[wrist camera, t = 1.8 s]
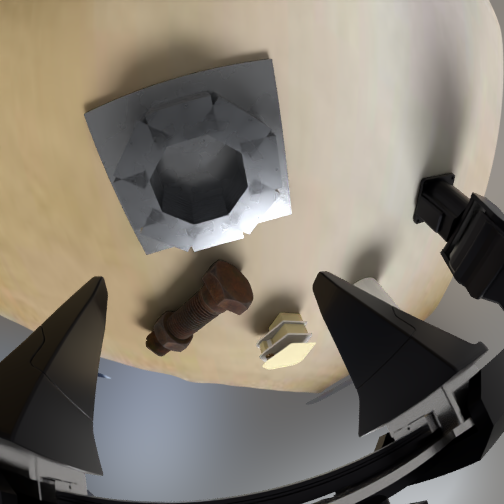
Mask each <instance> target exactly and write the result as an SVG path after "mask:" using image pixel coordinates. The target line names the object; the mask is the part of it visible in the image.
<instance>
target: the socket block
mask: <svg viewBox="0 0 504 504" xmlns="http://www.w3.org/2000/svg"><path fill="white" fill-rule="evenodd" d="M84 116H85V119H86V122H87V124H88V127H89V130H90V133H91V135H92V138H93V140H94V143H95V146H96V148H97V151H98V153H99V156H100V158H101V160H102V163H103V165H104V168H105V170H106V172H107V175H108V177H109V179H110V181H111V184H112V186H113V188H114V190H115V193H116V195H117V197H118V199H119V201H120V203H121V205H122V208H123V210H124V212H125V214H126V216H127V218H128V220H129V222H130V224H131V226H132V228H133V230H134V232H135V234H136V236H137V238H138V240H139V242H140V243H141V245H142V247H143V249H144V251H145V253H146V255H148V254H151V253H154V252H158V251H161V250H164V249H168V248H171V247H176V248H179V249H182V250H184V251H187V252H188V250H189V249H190V247H191V246H192V248H193V250H194V252H196V251H199V250H203V249H206V248H210V247H213V246H217V245H220V244H224V243H227V242H231V241H235V240H238V239H242V238H244V236H243V232H245V233H247V234H250V233H251V232H252V230H253V229H254V228H255V226H256V225H257V224H258V223H260V222H263V221H267V220H271V219H275V218H278V217H282V216H286V215H290V214H292V212H291V202H290V192H289V182H288V173H287V164H286V155H285V147H284V139H283V131H282V123H281V116H280V109H279V102H278V95H277V88H276V82H275V75H274V69H273V63H272V59H265V60H258V61H251V62H244V63H239V64H233V65H228V66H223V67H218V68H213V69H209V70H205V71H200V72H196V73H193V74H189V75H185V76H181V77H178V78H175V79H171V80H168V81H165V82H162V83H158V84H155V85H152V86H150V87H147V88H144V89H141V90H138V91H136V92H133V93H130V94H128V95H125V96H123V97H120V98H118V99H115V100H113V101H111V102H108V103H106V104H104V105H102V106H99V107H97V108H95V109H93V110H91V111H89V112H87V113H85V114H84ZM242 231H243V232H242Z"/></svg>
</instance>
